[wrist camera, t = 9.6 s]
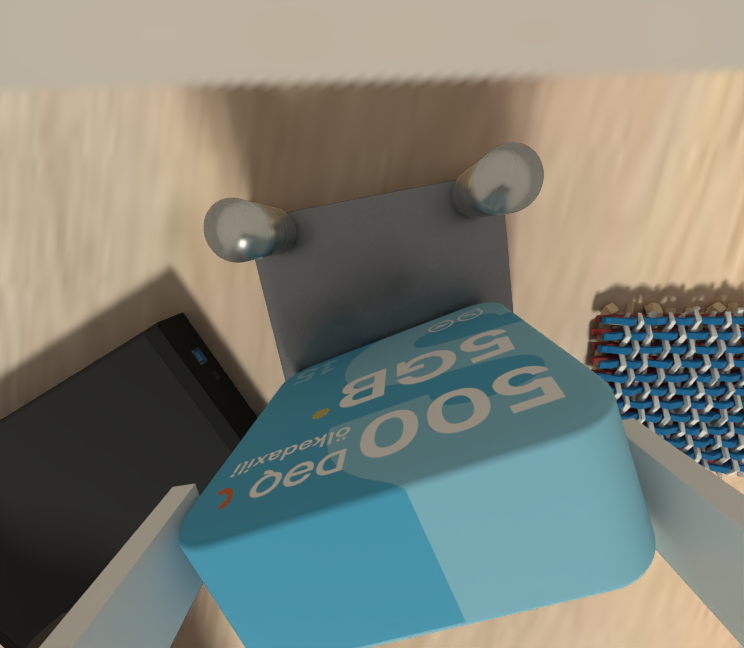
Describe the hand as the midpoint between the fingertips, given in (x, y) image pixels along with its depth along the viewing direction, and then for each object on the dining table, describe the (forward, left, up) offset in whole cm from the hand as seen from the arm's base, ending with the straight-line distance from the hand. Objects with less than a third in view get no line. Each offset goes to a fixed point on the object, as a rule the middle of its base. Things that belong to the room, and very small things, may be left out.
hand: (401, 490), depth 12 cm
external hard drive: (-20, -5, -11) cm, 23 cm away
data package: (0, 0, -9) cm, 9 cm away
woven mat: (+16, -4, -11) cm, 20 cm away
